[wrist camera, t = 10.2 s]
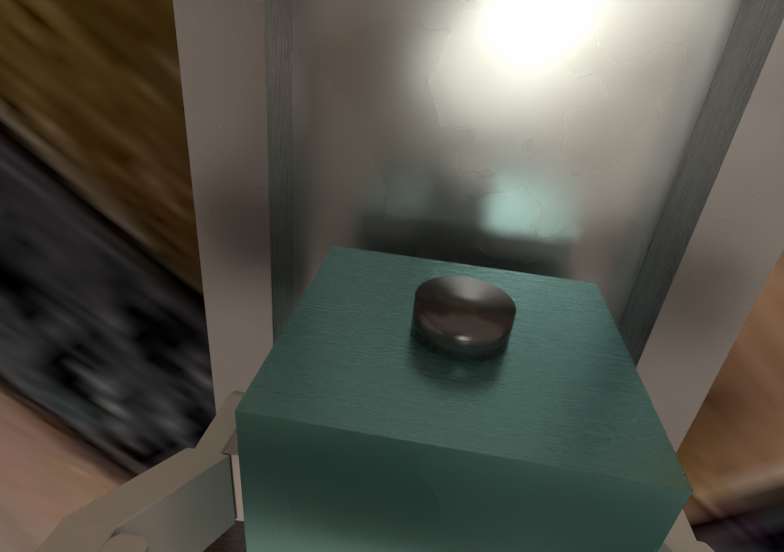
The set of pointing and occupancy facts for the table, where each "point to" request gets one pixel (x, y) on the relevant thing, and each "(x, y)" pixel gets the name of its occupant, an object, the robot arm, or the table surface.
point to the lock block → (452, 418)
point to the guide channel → (491, 161)
